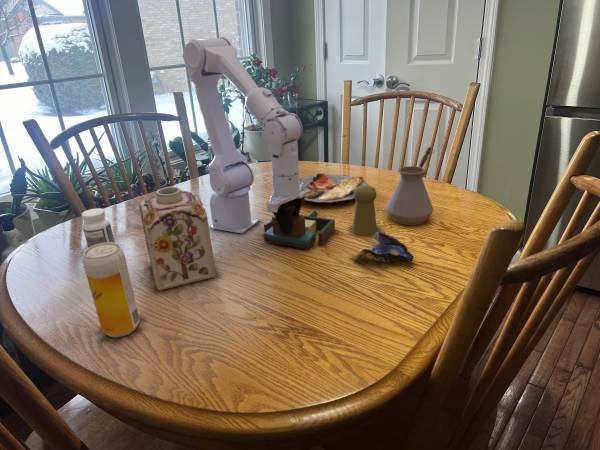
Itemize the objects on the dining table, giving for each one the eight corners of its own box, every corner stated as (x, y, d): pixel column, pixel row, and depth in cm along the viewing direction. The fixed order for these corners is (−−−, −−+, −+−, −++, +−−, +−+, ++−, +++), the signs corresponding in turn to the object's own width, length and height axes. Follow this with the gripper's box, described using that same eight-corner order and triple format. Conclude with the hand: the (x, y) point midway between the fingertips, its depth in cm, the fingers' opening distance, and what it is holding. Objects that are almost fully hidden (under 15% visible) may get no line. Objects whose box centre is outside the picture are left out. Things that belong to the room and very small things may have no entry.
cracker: (290, 233, 105) (290, 224, 104) (297, 227, 109) (297, 218, 108) (309, 236, 103) (309, 227, 102) (316, 230, 107) (316, 220, 106)
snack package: (361, 243, 99) (347, 266, 89) (367, 217, 97) (353, 238, 87) (414, 258, 96) (405, 284, 86) (421, 232, 93) (413, 256, 83)
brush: (264, 241, 101) (262, 217, 98) (273, 233, 104) (271, 210, 102) (307, 249, 96) (306, 224, 94) (315, 240, 100) (314, 216, 98)
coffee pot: (424, 231, 103) (429, 170, 97) (378, 223, 109) (380, 165, 102) (447, 202, 119) (453, 148, 113) (406, 195, 125) (410, 144, 119)
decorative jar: (150, 265, 94) (134, 186, 86) (204, 253, 98) (193, 176, 90) (157, 293, 84) (139, 206, 76) (217, 278, 88) (205, 194, 80)
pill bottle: (104, 244, 105) (94, 205, 100) (121, 248, 102) (112, 209, 98) (84, 254, 100) (73, 215, 96) (102, 259, 97) (91, 218, 93)
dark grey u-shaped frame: (264, 236, 105) (263, 224, 104) (289, 215, 116) (288, 204, 115) (321, 245, 99) (321, 233, 98) (342, 222, 110) (341, 211, 109)
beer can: (109, 318, 77) (88, 242, 71) (144, 315, 77) (126, 239, 71) (97, 341, 71) (74, 260, 65) (135, 337, 72) (115, 257, 66)
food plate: (317, 176, 145) (317, 165, 144) (381, 187, 132) (381, 176, 131) (270, 199, 127) (269, 188, 126) (338, 215, 114) (338, 202, 113)
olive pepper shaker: (376, 236, 102) (377, 192, 97) (350, 235, 103) (350, 191, 99) (377, 225, 107) (379, 183, 103) (353, 224, 109) (353, 182, 104)
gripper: (287, 185, 86) (291, 246, 92) (315, 164, 98) (317, 220, 104) (256, 181, 89) (261, 241, 94) (287, 162, 101) (290, 216, 106)
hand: (288, 230), depth 99 cm, fingers closed on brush, 2 cm apart
